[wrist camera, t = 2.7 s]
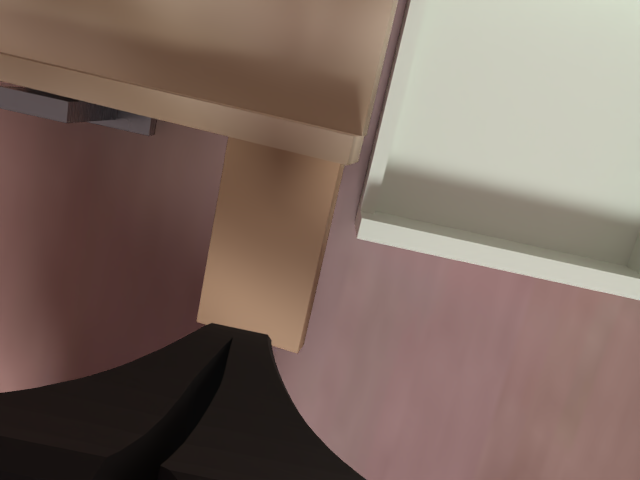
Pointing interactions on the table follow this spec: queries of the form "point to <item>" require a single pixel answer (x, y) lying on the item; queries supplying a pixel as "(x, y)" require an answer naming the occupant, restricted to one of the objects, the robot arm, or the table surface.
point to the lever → (229, 118)
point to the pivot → (72, 110)
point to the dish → (513, 140)
